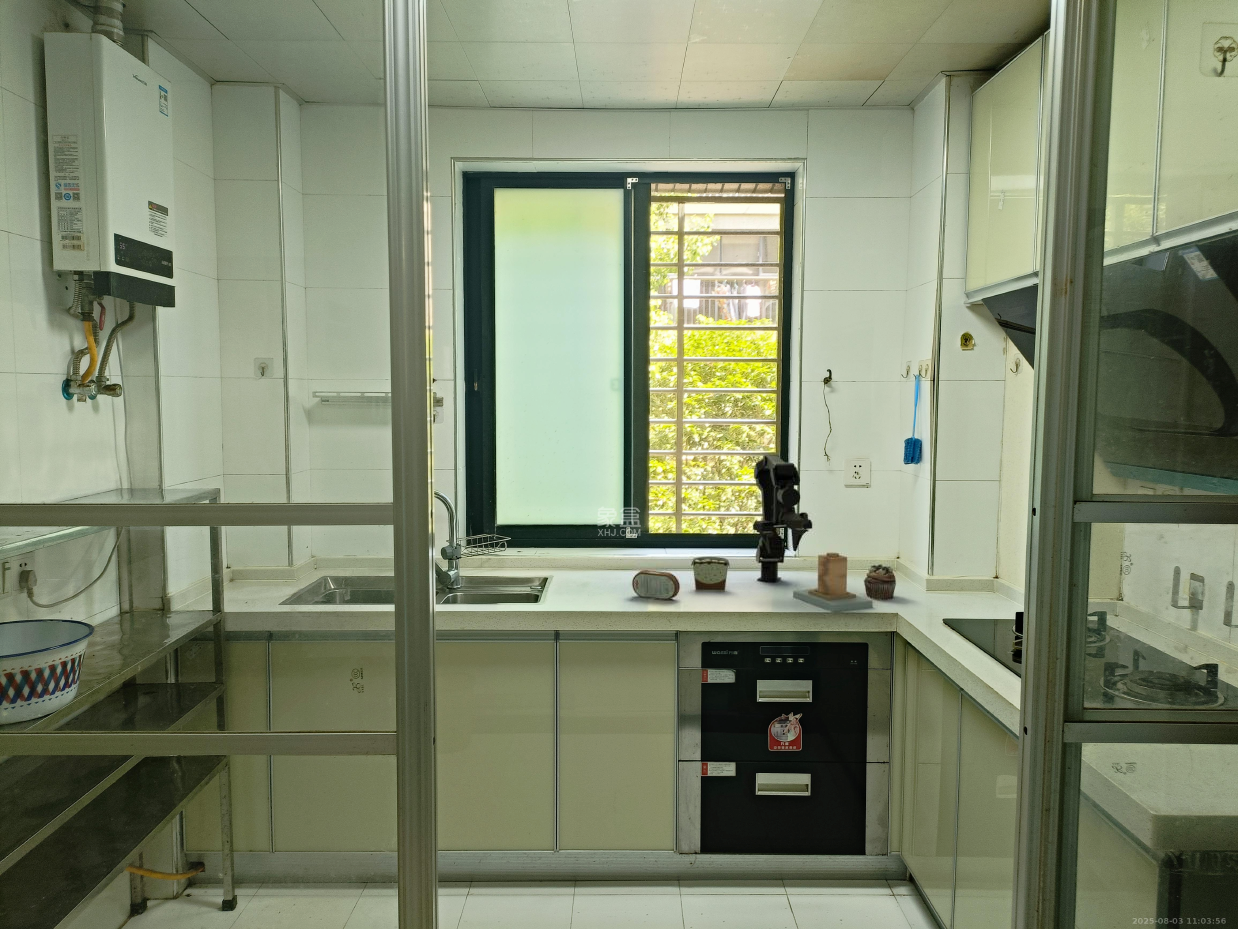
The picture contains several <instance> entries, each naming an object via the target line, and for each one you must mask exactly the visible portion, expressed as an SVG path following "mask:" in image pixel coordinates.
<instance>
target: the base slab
mask: <svg viewBox="0 0 1238 929" xmlns="http://www.w3.org/2000/svg"><path fill="white" fill-rule="evenodd" d="M794 597H795V598H794ZM792 598H794V599H797V598H798V599H797V600H799V599H801V600H800V601H802V600H804V601H803V602H805V603H808V604H810V603H811V605H814V606H816V607H818V606H819V608H821V607H822V608H821V609H823V610H827V611H829V610H830V611H829V612H832V613H837V612H843V611H844V612H846V611H854V610H853V609H855V610H861V609H862V610H863V609H870V608H871V609H872V608H873V607H874V605H873V604H874V600H871V599H870V598H867V597H862V596H860V595H857V594H856V593H853V592H849V591H847V593H846V595H837V596H827V595H824V594H821V593H818V587H816V588H807V589H797V590H793V591H792ZM845 610H846V611H845Z"/></svg>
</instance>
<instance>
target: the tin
mask: <svg viewBox="0 0 1238 929" xmlns="http://www.w3.org/2000/svg"><path fill="white" fill-rule="evenodd" d="M680 585H681V584H680V581H679V579H678V578H677V576H676V575H674V574H673V573H671V572H666V571H658V570H648V569H643V570H640V571H639V572H638V573H636V574H635V575H634V576H633V578H632V581H631V586H632V589H633V591H634V593H635V595H637V596H638V597H641V598H643V599H650V598H654V599H653V600H659V599H662V600H661V601H669V600H672V599H673V598H675V597H677V595H678V594H679V592H680V589H681V586H680Z"/></svg>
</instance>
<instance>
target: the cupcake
mask: <svg viewBox="0 0 1238 929" xmlns="http://www.w3.org/2000/svg"><path fill="white" fill-rule="evenodd" d="M896 580H897V579H896V576H895V574H894V568H893V567H891V565H890V566H889V565H888V566H886V565H885V566H883V564H880V563H879V564H878V565H875V564H874V565H870V567H869V568H868V572H867V573H866V577H865V578H864V580H863V585H864V588H865V589H864V591H865V593H866V595H867V596H868V597H870V598H869V599H872V598H874V599H873V600H879V599H881V600H883V601H887V600H888V599H889V600H892V599H893V598H894V593H895V589H896V585H897V581H896ZM867 596H866V597H867ZM868 597H867V598H868Z"/></svg>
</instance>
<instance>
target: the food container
mask: <svg viewBox="0 0 1238 929" xmlns="http://www.w3.org/2000/svg"><path fill="white" fill-rule="evenodd" d="M690 566H691V567H693V578H694V587H695V591H700V592H701V591H705V592H706V591H707V592H709V591H710V592H725V591H726V586H727V585H726V584H727V576H728V568H730V567H731V565H730V562H729V559H728V558H725V557H720V556H719V557H718V556H699V557H694V558H692V561H691V564H690Z"/></svg>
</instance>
